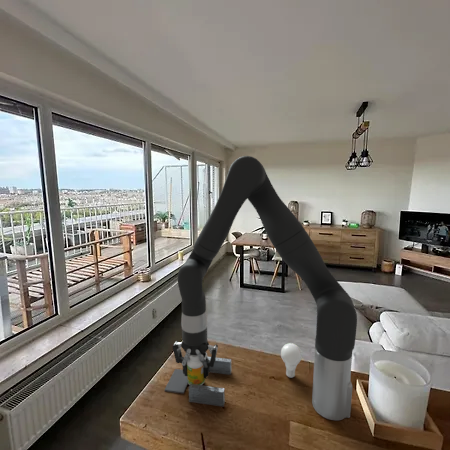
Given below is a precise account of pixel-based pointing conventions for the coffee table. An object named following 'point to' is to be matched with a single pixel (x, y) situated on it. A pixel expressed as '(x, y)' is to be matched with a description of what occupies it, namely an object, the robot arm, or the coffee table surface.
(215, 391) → the grey bricks
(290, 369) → the lightbulb
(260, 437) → the coffee table surface
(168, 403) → the coffee table surface
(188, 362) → the supplement bottle
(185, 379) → the gray rectangular block
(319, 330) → the robot arm
